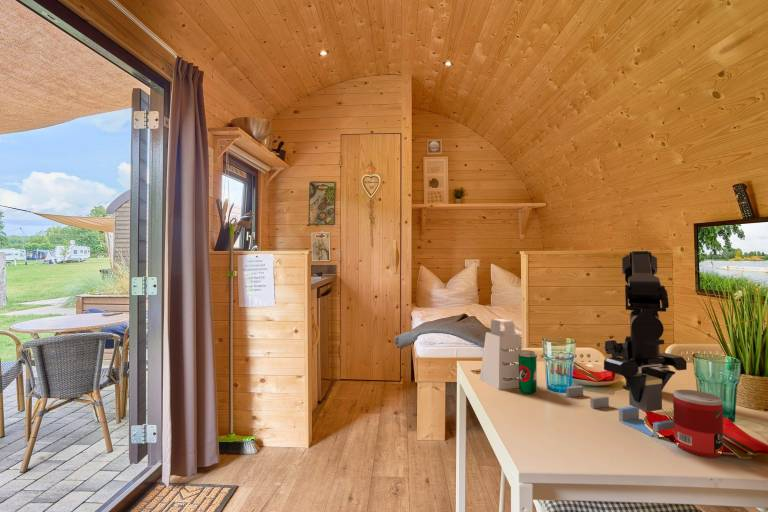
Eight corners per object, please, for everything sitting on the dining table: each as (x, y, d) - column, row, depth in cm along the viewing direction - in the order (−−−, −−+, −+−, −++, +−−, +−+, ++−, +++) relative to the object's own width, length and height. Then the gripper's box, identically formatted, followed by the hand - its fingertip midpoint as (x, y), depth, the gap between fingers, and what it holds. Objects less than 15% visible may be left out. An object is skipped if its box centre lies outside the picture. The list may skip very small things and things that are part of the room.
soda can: (538, 395, 114) (537, 353, 114) (520, 394, 115) (519, 353, 115) (535, 389, 119) (534, 350, 119) (517, 388, 120) (517, 349, 120)
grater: (506, 376, 132) (506, 317, 133) (527, 386, 123) (526, 321, 123) (479, 379, 129) (479, 318, 129) (498, 389, 119) (498, 323, 119)
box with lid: (644, 402, 95) (643, 373, 95) (662, 409, 90) (662, 379, 90) (629, 404, 94) (628, 375, 94) (646, 411, 89) (646, 380, 89)
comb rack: (582, 394, 115) (581, 383, 115) (676, 435, 88) (676, 421, 88) (564, 396, 113) (564, 385, 113) (655, 438, 86) (655, 424, 86)
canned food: (727, 462, 76) (726, 404, 76) (675, 451, 80) (675, 397, 80) (719, 446, 83) (718, 393, 83) (672, 437, 87) (671, 387, 87)
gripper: (644, 326, 102) (645, 386, 102) (585, 330, 97) (586, 393, 97) (687, 333, 92) (688, 401, 92) (624, 338, 87) (624, 409, 86)
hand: (645, 400), depth 92 cm, fingers closed on box with lid, 4 cm apart
